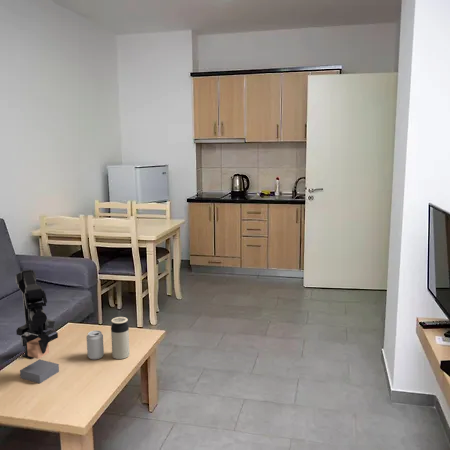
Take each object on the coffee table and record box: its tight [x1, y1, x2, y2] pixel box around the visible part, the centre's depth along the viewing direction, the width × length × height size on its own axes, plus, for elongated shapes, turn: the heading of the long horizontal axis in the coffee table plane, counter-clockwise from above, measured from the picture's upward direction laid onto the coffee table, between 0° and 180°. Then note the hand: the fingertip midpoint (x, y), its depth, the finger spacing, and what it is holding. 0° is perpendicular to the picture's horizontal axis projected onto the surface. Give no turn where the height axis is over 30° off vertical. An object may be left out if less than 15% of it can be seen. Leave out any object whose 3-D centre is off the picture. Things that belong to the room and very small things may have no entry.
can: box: [86, 330, 105, 360], centre depth 216 cm, size 8×8×12 cm
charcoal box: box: [19, 358, 60, 384], centre depth 199 cm, size 11×11×4 cm
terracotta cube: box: [27, 338, 50, 360], centre depth 197 cm, size 6×6×6 cm
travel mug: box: [110, 316, 130, 360], centre depth 216 cm, size 8×8×18 cm
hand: (38, 351), depth 198 cm, fingers closed on terracotta cube, 6 cm apart
